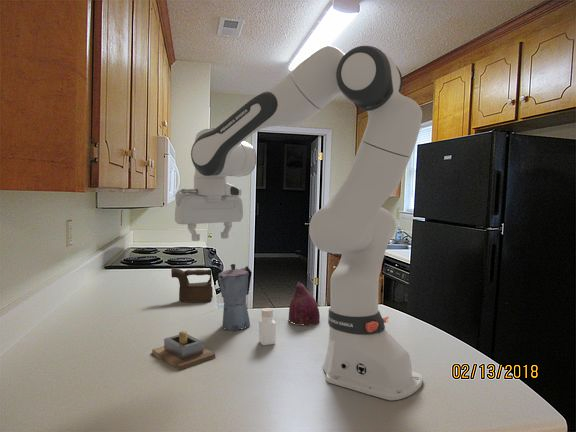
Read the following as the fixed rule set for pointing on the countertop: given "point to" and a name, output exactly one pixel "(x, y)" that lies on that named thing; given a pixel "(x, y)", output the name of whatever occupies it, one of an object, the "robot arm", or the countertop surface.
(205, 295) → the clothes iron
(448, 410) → the countertop surface
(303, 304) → the vegetable
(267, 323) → the pepper shaker
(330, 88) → the robot arm
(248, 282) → the moka pot
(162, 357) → the keeper
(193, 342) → the link
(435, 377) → the countertop surface
